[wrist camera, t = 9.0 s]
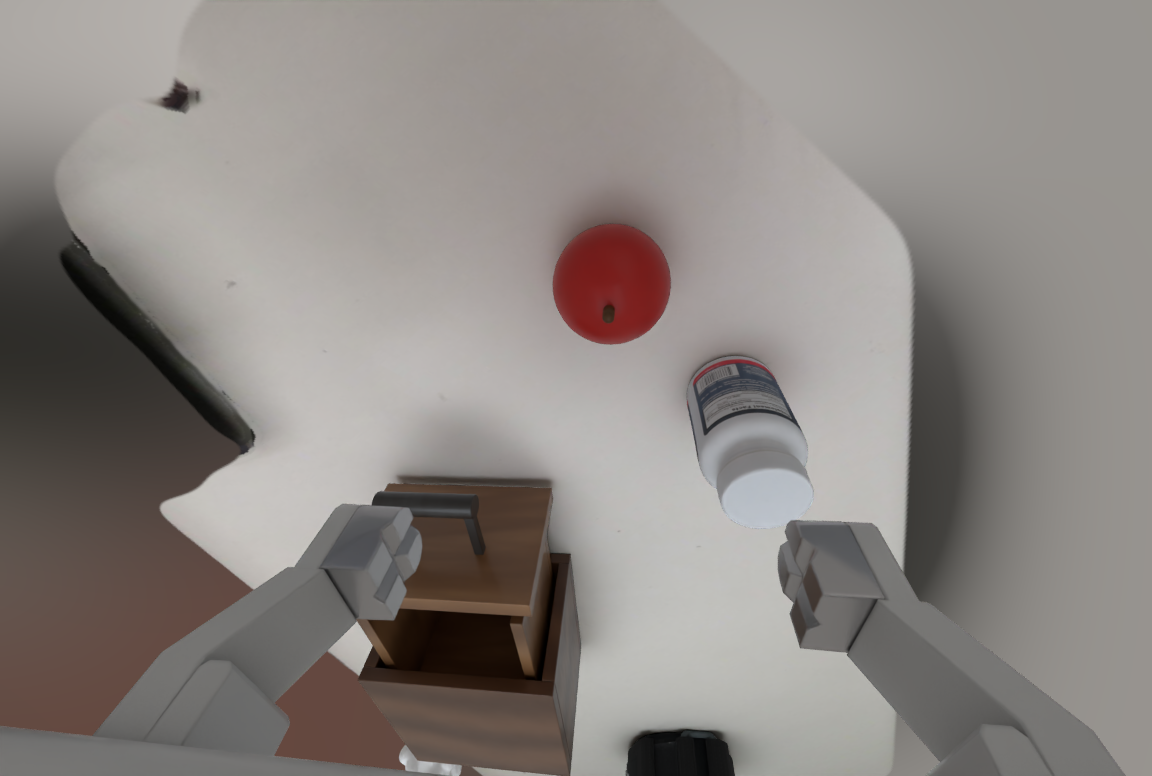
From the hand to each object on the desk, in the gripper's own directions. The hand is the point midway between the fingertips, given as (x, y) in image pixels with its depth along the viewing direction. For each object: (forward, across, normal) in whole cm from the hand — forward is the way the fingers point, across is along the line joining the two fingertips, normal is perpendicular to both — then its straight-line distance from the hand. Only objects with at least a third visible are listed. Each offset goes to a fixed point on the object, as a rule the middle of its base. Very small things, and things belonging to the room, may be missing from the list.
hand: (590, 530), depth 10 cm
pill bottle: (+17, -7, +8) cm, 20 cm away
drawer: (+16, +11, +21) cm, 28 cm away
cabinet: (+17, +11, +33) cm, 39 cm away
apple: (+14, 0, 0) cm, 14 cm away
